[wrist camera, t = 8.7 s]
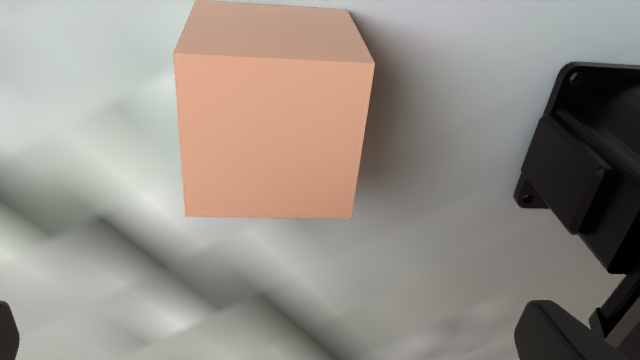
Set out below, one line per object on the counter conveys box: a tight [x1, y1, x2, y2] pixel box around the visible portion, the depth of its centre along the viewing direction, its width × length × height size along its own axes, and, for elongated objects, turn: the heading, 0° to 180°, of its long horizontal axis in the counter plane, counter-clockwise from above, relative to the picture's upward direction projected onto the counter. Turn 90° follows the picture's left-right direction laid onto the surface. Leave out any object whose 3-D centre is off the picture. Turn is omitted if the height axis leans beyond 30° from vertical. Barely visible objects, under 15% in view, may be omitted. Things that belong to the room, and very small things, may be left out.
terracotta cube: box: [173, 0, 375, 218], centre depth 16 cm, size 5×5×5 cm
